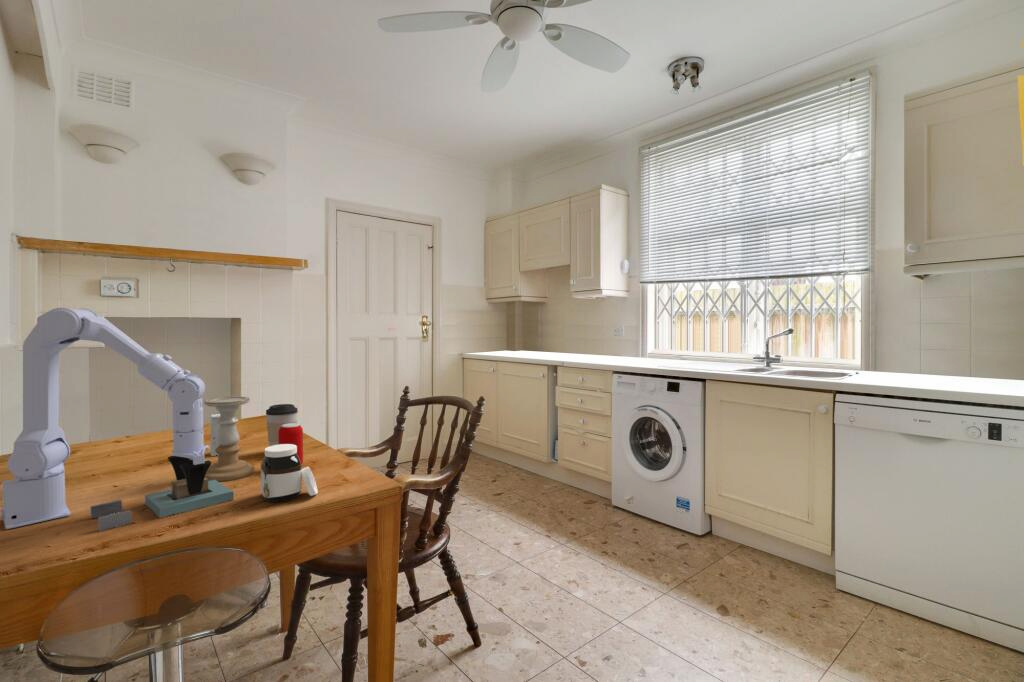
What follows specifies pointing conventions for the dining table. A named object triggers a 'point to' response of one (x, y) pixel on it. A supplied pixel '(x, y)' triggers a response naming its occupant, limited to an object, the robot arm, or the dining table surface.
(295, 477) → the spread jar
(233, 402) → the candle holder
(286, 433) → the beverage can
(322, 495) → the dining table surface
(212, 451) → the skincare box
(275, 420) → the coffee cup
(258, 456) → the dining table surface
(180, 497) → the walnut block
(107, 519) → the metal stand
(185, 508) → the socket board
